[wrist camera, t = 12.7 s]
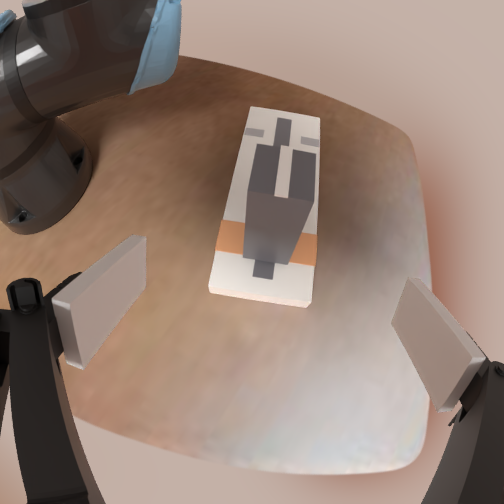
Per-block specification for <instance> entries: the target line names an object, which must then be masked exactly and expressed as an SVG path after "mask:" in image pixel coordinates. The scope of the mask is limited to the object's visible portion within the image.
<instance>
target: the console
mask: <svg viewBox="0 0 504 504" xmlns="http://www.w3.org/2000/svg"><path fill="white" fill-rule="evenodd" d="M257 144H264V145H270V146H277V147H281V145H283V146H289V147H293V149H294V150H300V151H305V152H310V153H315V154H316V174H315V197H314V204H313V206H312V209H311V211H310V213H309V216H308V218H307V221H306V223H305V225H304V228H303V230H302V233H301V235H300V237H299V240H298V242H297V244H296V247H295V249H294V251H293V254H292V256H291V258H290V261H289V263H288V265H285V264H279V263H272V262H266V261H260V260H254V259H247V258H243V245H244V230H245V216H246V202H247V190H248V185H249V180H250V175H251V170H252V165H253V160H254V155H255V150H256V146H257ZM319 161H320V118H317V117H312V116H307V115H302V114H297V113H291V112H285V111H279V110H273V109H266V108H259V107H252V106H251V107H250V111H249V115H248V119H247V123H246V127H245V130H244V134H243V138H242V142H241V146H240V150H239V154H238V158H237V162H236V166H235V170H234V174H233V179H232V183H231V187H230V191H229V195H228V199H227V204H226V208H225V212H224V217H223V220H221V224H220V229H219V233H218V238H217V242H216V246H215V251H216V252H215V257H214V261H213V266H212V271H211V276H210V280H209V285H208V287H209V291H210V293H215V294H221V295H227V296H233V297H239V298H245V299H251V300H257V301H263V302H270V303H276V304H283V305H290V306H297V307H304V308H307V306H308V305H309V304H310V303H311V300H312V289H313V277H314V266H316V254H317V239H318V235H316V234H317V216H318V194H319Z"/></svg>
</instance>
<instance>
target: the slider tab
mask: <svg viewBox="0 0 504 504" xmlns="http://www.w3.org/2000/svg"><path fill="white" fill-rule="evenodd" d="M315 174H316V154H315V153H310V152H305V151H300V150H294V149H293V147H289V146H283V145H281V147H277V146H270V145H264V144H257V146H256V150H255V155H254V160H253V165H252V170H251V175H250V180H249V185H248V190H247V202H246V216H245V230H244V245H243V258H247V259H254V260H260V261H266V262H272V263H279V264H285V265H288V263H289V261H290V258H291V256H292V254H293V251H294V249H295V247H296V244H297V242H298V240H299V237H300V235H301V233H302V230H303V228H304V225H305V223H306V221H307V218H308V216H309V213H310V211H311V209H312V206H313V204H314V197H315Z"/></svg>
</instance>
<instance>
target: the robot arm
mask: <svg viewBox="0 0 504 504" xmlns="http://www.w3.org/2000/svg"><path fill="white" fill-rule="evenodd" d="M180 1H181V0H23V1H22V5H23V9H24V12H25V16H23V17H21V18H19V19H17V20H16V14H15V13H13V11H11V10H7V11H5V12H4V13H1V14H0V220H1V221H2V222H3V223H4V224H5V225H6V226H7V227H8V228H9V229H10V230H12V231H13V232H15V233H18V234H23V235H28V234H34V233H38V232H40V231H43V230H45V229H47V228H49V227H50V226H52V225H54V224H55V223H56V222H58V221H59V220H60V219H62V218H63V217H64V216H65V215H66V214H67V213H68V212H69V211H70V210H71V209H72V208H73V207H74V205H75V204H76V203H77V202H78V200H79V199H80V197H81V196H82V194H83V193H84V191H85V189H86V187H87V185H88V182H89V180H90V177H91V173H92V157H91V154H90V152H89V150H88V148H87V146H86V144H85V142H84V140H83V139H82V138H81V137H80V136H79V135H78V134H77V133H76V132H74V131H73V130H72V129H71V128H70V127H68V126H67V125H66V124H65V123H64V122H63V121H61V120H60V119H59V118H58V117H57V116H59V115H62V114H64V113H67V112H70V111H72V110H75V109H78V108H81V107H84V106H87V105H90V104H93V103H96V102H99V101H102V100H105V99H109V98H112V97H115V96H119V95H122V94H126V93H127V95H131V94H133V93H134V92H135V91H137V90H141V89H144V88H148V87H151V86H155V85H159V84H161V83H164V82H165V81H167V80H168V79H169V78H170V77H171V76H172V75H173V73H174V71H175V69H176V66H177V61H178V55H179V46H180V33H181V4H180ZM145 288H146V237H145V236H139V235H133V234H132V235H131V236H130V237H128V238H127V239H126V240H124V241H123V242H121V243H120V244H119V245H117V246H116V247H115V248H114V249H112V250H111V251H110V252H108V253H107V254H106V255H104V256H103V257H102V258H101V259H99V260H98V261H97V262H95V263H94V264H93V265H92V266H90V267H89V268H88V269H87V270H85V271H84V272H83V273H82V272H78V273H76V274H73V275H71V276H69V277H68V278H67V279H65V280H64V281H63V282H62V283H60V284H59V285H58V286H57V288H54V289H53V290H52V291H50V292H49V293H48V294H47V295H46V296H44V297H43V293H42V287H41V283H40V281H38V280H37V279H34V278H22V279H18V280H16V281H13V282H12V283H10V284H9V285H8V287H7V289H6V291H7V295H8V300H9V304H10V308H11V310H5V309H0V434H1V427H2V421H3V415H4V410H5V404H6V399H7V395H8V390H9V386H10V399H11V411H12V420H13V429H14V436H15V443H16V449H17V454H18V460H19V465H20V470H21V475H22V479H23V483H24V487H25V491H26V495H27V504H106V503H105V502H104V499H103V497H102V495H101V493H100V490H99V488H98V486H97V484H96V481H95V479H94V476H93V474H92V471H91V469H90V466H89V464H88V461H87V459H86V456H85V453H84V450H83V448H82V445H81V442H80V439H79V436H78V432H77V429H76V426H75V423H74V420H73V416H72V412H71V409H70V405H69V401H68V398H67V394H66V389H65V385H64V381H63V376H62V372H61V367H60V363H59V359H58V357H59V356H60V355H61V354H62V352H63V351H64V355H65V359H66V362H67V364H69V365H72V366H75V367H77V368H80V369H83V370H84V369H85V367H86V366H87V365H88V363H89V362H90V360H91V359H92V358H93V356H94V355H95V353H96V352H97V351H98V349H99V348H100V347H101V345H102V344H103V343H104V341H105V340H106V339H107V337H108V336H109V334H110V333H111V332H112V330H113V329H114V328H115V327H116V325H117V324H118V323H119V321H120V320H121V319H122V317H123V316H124V315H125V313H126V312H127V311H128V310H129V308H130V307H131V306H132V304H133V303H134V302H135V301H136V299H137V298H138V297H139V295H140V294H141V293H142V292H143V290H144V289H145ZM391 324H392V326H393V327H394V329H395V331H396V333H397V335H398V336H399V338H400V340H401V342H402V344H403V345H404V347H405V349H406V351H407V353H408V355H409V357H410V359H411V360H412V362H413V364H414V366H415V368H416V370H417V372H418V374H419V376H420V378H421V380H422V382H423V384H424V386H425V388H426V390H427V392H428V394H429V396H430V398H431V400H432V402H433V404H434V406H435V408H436V410H437V412H447V411H452V409H453V408H454V406H455V405H456V404H457V402H458V400H460V402H461V404H462V407H461V409H460V410H459V411H458V413H457V414H456V415H455V417H454V418H453V419H452V421H451V422H450V423H449V425H448V426H451V425H452V423H454V426H453V429H452V432H451V435H450V438H449V441H448V443H447V446H446V449H445V451H444V454H443V456H442V459H441V462H440V464H439V466H438V469H437V471H436V474H435V476H434V478H433V480H432V482H431V485H430V487H429V489H428V491H427V493H426V495H425V497H424V499H423V501H422V503H421V504H504V364H503V363H500V362H497V361H493V362H490V361H489V359H488V358H487V356H486V355H485V354H484V353H483V352H482V350H481V349H480V348H479V346H477V344H476V342H475V341H473V339H472V338H471V336H470V335H469V334H468V333H467V332H466V331H465V330H464V329H463V328H462V327H461V325H460V324H459V323H458V322H457V321H456V319H455V318H454V317H453V316H452V315H451V314H450V313H449V311H448V310H447V309H446V308H445V307H444V305H443V304H442V303H441V302H440V301H439V300H438V299H437V298H436V296H435V295H434V294H433V293H432V292H431V291H430V290H429V289H428V288H427V286H426V285H425V284H424V283H423V282H422V281H421V280H420V279H415V278H409V277H408V279H407V282H406V284H405V287H404V290H403V293H402V296H401V298H400V301H399V304H398V306H397V309H396V312H395V314H394V317H393V319H392V322H391Z"/></svg>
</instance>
